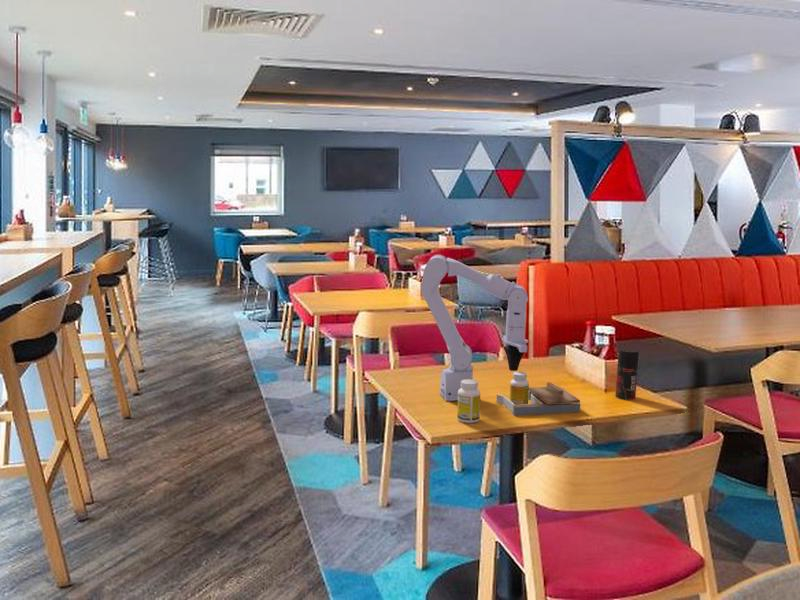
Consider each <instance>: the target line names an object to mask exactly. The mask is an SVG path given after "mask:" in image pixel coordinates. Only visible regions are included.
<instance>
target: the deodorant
mask: <svg viewBox="0 0 800 600" xmlns="http://www.w3.org/2000/svg"><path fill="white" fill-rule="evenodd" d="M639 355H640V350H639V349H637V348H632V347H619V348H618V354H617V356H618V357H617V370H616V382H615V383H616V384H615V395H614V397H616V399H619V400H624V401H633V400H635V399H636V393H637V382H638V381H637V380H638V370H639V369H638V367H639V358H640V357H639Z"/></svg>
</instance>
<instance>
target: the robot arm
mask: <svg viewBox="0 0 800 600" xmlns="http://www.w3.org/2000/svg"><path fill="white" fill-rule="evenodd" d="M425 265H426V266H425V267H424V268H423V272H422V280H421V287H420V292H421V294H422V295H423V298H424V300H425V302H426V304H427V307H428V308H429V311H430V312H431V315H432V317H433V319H434V321H435V322H436V325H437V327H438V329H439V331H440V334H441V335H442V337H443V339H444V342H445V344H446V347H447V350H448V353H449V355H450V365H448V368H445V369H441V372H440V391H439V394H440V395H441V397H442V398H443V399H444V400H445V401H446V402H451V401H458V391H459V389H460V388H462V387H461V381H462V380H465V379H472V380H474V379H473V378H474V376H473V375H474V367H473V366H472V362H473V361H472V357H473V351H472V349H471V347H470V346H469V345H468V344H466V343H465V341H464V339H463V338H462V336H461V335H460V332H459V331H458V329H457V326H456V324H455V322H454V320H453V318H452V316H451V314H450V312H449V310H448V308H447V306H446V303H445V302H444V300H443V298H442V295H441V293H440V291H439V286H440V284H441V281H442V280H443V278H445V276H446V274H448V275H447V277H455V276H459V277H462V278H464V279H466V280H468V281H471V282H473V283H476V284H477V285H480V286H482V288H483V291H484V292H485V293H487V294H490V295H492V296H494V297H495V298H496V297H497V298H498V299H500V300H502V301H507V310H506V320H505V321H506V323H505V334H503V336H502V339H503V340H502V341H503V342H504V343H505V344H506V345H507V346H506V345H505V346H503V350H504V352H505V355H506V358H507V363H508V369H509V371H511V372H514V371H515V372H518V370H519V367H520V363H521V361H522V357H523V356H524V354H525V353H528V345H527V344H528V343H529V340H528V339H526V323H527V321H526V320H527V310H526V309H527V303H528V301H529V297H528V293H527V290H526V289H525V288H524V287H523V286H522V285H521V284H516V282H515V281H512V282H511V281H509V280H507V279H506V278H505V279H504V278H502V274H499V273H497V274H493V273H491V274H488V275H486V274H484V273H482V272H480V271H478V270H476V269H475V268H472V267H471V266H469V265H466V264H464V263H463V262H461V261H458V260H456V259H453V258H451V257H446V256H444V255H442V254H435V255H432V256H431V257H430V258H429V260H428V261H427V263H426V264H425Z"/></svg>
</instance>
